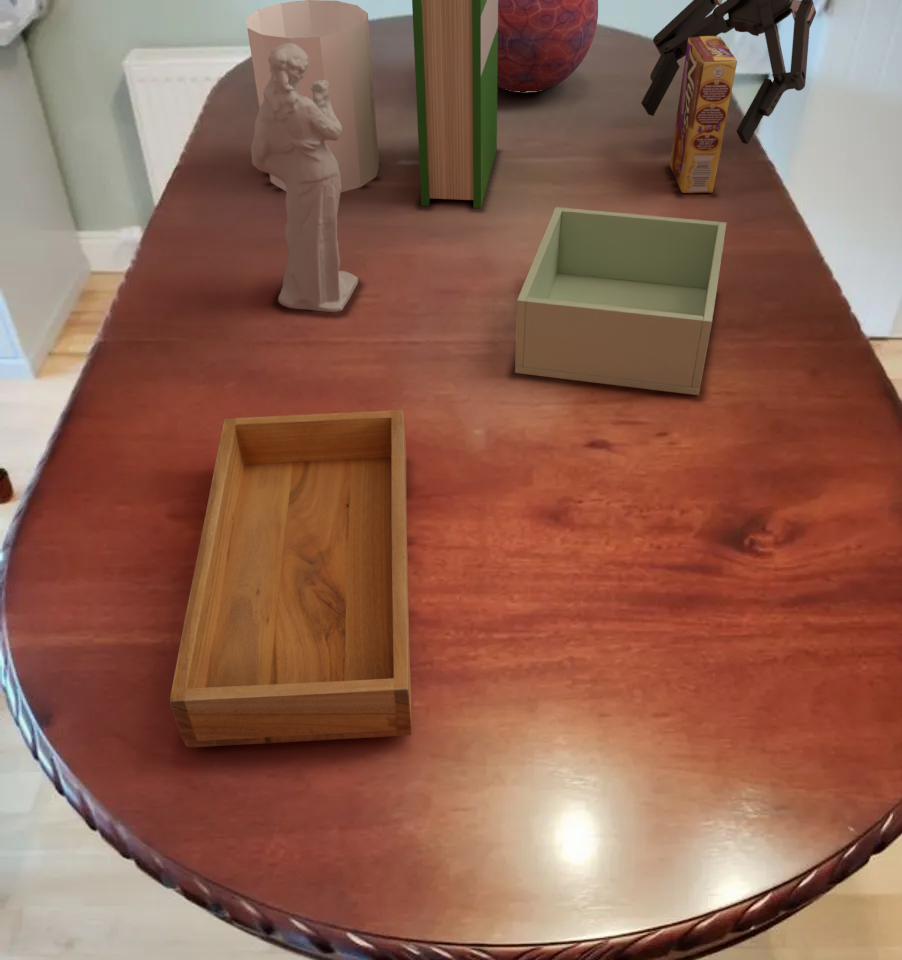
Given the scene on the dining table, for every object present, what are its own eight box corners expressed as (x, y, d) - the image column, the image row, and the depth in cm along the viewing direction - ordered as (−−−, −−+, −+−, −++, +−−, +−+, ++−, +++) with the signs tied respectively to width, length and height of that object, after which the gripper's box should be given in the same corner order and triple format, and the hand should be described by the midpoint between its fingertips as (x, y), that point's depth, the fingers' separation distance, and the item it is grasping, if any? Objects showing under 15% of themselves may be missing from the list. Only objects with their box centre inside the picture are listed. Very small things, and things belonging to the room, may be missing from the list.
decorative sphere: (610, 106, 144) (624, -56, 130) (476, 120, 142) (474, -43, 127) (569, 60, 158) (578, -90, 144) (446, 73, 155) (442, -79, 141)
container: (389, 152, 135) (379, 1, 122) (364, 198, 125) (351, 40, 112) (286, 146, 137) (266, -2, 124) (254, 192, 127) (228, 36, 114)
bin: (713, 292, 107) (726, 222, 101) (698, 395, 94) (712, 321, 88) (551, 276, 110) (555, 206, 105) (514, 373, 97) (516, 300, 91)
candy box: (716, 193, 123) (738, 59, 112) (681, 195, 123) (700, 61, 112) (702, 164, 130) (721, 34, 119) (668, 165, 130) (685, 35, 119)
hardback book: (480, 208, 122) (480, -15, 105) (421, 205, 123) (411, -16, 106) (496, 149, 134) (498, -59, 117) (442, 147, 135) (436, -60, 118)
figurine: (342, 263, 113) (315, 17, 95) (375, 302, 107) (353, 47, 89) (262, 282, 111) (219, 34, 93) (291, 323, 104) (251, 65, 86)
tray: (234, 467, 88) (222, 413, 84) (406, 459, 88) (403, 405, 84) (186, 755, 66) (166, 701, 62) (413, 743, 67) (409, 689, 63)
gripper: (889, -8, 114) (791, 166, 118) (704, -44, 127) (621, 114, 130) (880, -52, 108) (777, 133, 111) (686, -86, 120) (599, 82, 124)
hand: (693, 123), depth 121 cm, fingers open, 13 cm apart
